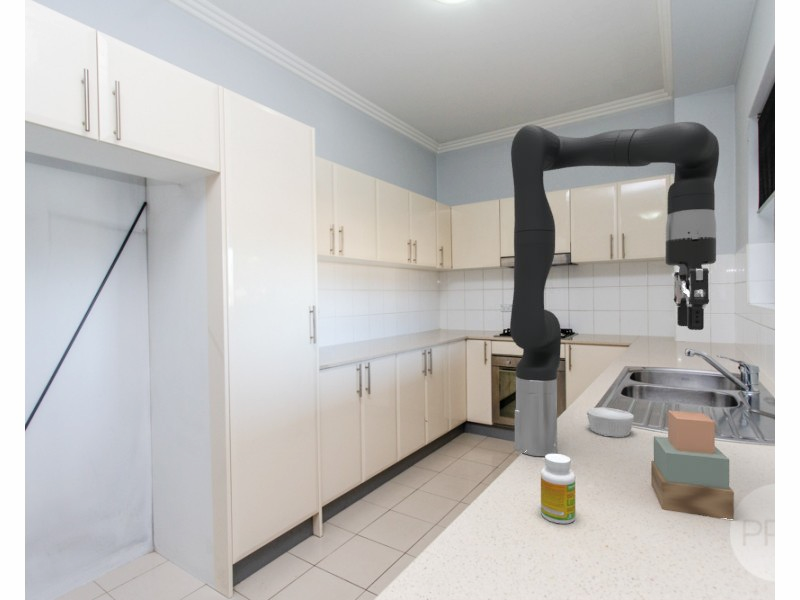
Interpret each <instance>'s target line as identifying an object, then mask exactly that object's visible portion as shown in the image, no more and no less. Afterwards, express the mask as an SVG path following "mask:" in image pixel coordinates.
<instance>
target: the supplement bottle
mask: <svg viewBox="0 0 800 600" xmlns="http://www.w3.org/2000/svg"><path fill="white" fill-rule="evenodd" d="M571 461H572V460H571V458H570V457H569V456H568V455H564V454H561V453H556V454H547V455H546V456H544V466H545V467H543V468H542V469H541V471H540V513H541V516H542V517H543V518H544V519H546V521H550V522H551V523H556V524H565V525H566V524H571V523H573V522H574V521H575V519H576V475H575V473H574V472H573V470H571V469H572V468H571V467H572V466H571V463H572V462H571Z"/></svg>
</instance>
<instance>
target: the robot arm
mask: <svg viewBox="0 0 800 600" xmlns="http://www.w3.org/2000/svg"><path fill="white" fill-rule="evenodd" d="M510 148H511V149H510V157H511V158H510V159H511V160H510V162H511V171H512V179H513V191H514V193H513V196H514V198H513V199H514V200H513V202H514V203H513V205H514V206H513V208H514V211H513V212H514V226H513V260H514V261H513V294H512V304H511V305H512V306H511V313H510V322H509V324H510V325H509V328H510V331H509V332H510V335H511V338H512V340H513V343H514V344H515V345H516V346H517V347H519V349H522V356H521V359H520V360H519V361H518V362H517V364H516V366H515V409H514V451H515V452H520V453H521V454H524V455H529V456H536V457H545V456H546V455H547V454H558V414H557V413H558V391H557V390H558V389H557V388H558V386H557V385H558V381H557V380H558V370H559V368H560V365H561V364H560V363H561V347H562V346H561V345H562V343H561V342H562V341H561V340H562V330H561V324H560V320H559V318H558V317H557V316H556V315H555V314H554V313H553V312H552V311H550V310H548V309H545V289H546V288H545V287H546V283H547V279H548V276H549V274H550V271H551V268H552V265H553V261H554V260H555V259H554V258H555V254H556V253H555V251H556V224H555V217H554V215H553V211H552V208H551V206H550V203H549V201H548V197H547V193H546V189H545V185H544V172H549V171H555V170H561V169H566V168H573V167H574V168H575V167H576V168H577V167H625V168H626V167H627V168H629V167H631V168H632V167H633V168H635V167H645V166H646V167H647V166H648V165H650V164H658V163H660V164H661V163H666V164H673V165H674V178H673V183H672V184H671V185H669V188H668V190H667V191H668V192H667V206H666V207H667V209H666V210H667V213H666V214H667V217H666V222H665V223H666V224H665V264H666V265H667V266H678V267H679V269H678V271H675V272H674V274H673V276H674V289H673V290H674V295H673V296H674V298H673V301H674V303H675V306H676V308H677V311H676V312H677V320H676V321H677V322H676V324H677V326H679V327H687V329H688V330H690V331H701V330H702V331H703V329H704V327H705V326H704V323H705V322H704V321H705V320H704V319H705V318H704V317H705V315H704V314H705V313H704V311H705V308H706V306H707V305H708V304H709V302H710V298H709V297H710V295H709V293H710V292H709V272H710V270H709V268H704V267H703V265H704V266H705V265H712V264H714V263H716V261H717V220H716V214H715V210H716V208H715V207H716V206H715V205H716V204H715V203H716V202H715V201H716V200H715V197H716V194H715V181H716V178H717V173H718V167H719V160H720V159H719V158H720V146H719V141H718V138H717V136H716V135H715V134H714V132H712V131H711V130H710V129H708V127H706V125H704V124H702V123H701V122H700V123H699V122H694V121H681V122H680V121H679V122H678V121H677V122H671V123H667V124H662V125H658V126H657V125H656V126H654V127H651V128H632V129H630V128H629V129H628V128H627V129H616V130H615V129H613V130H608V131H604V132H601V133H598V134H594V135H590V136H585V137H572V136H571V137H569V136H562V135H557V134H556V133H553V132H552V131H550V130H547V129H546V128H544V127H541V126H539V125H535V124H526V125H525V126H522V127H521V128H520V129H519V130H518V131H517V132H516V134H515V135H514V137H513V140H512V143H511V147H510ZM526 450H527V451H526ZM525 451H526V452H525ZM524 452H525V453H524Z"/></svg>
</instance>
